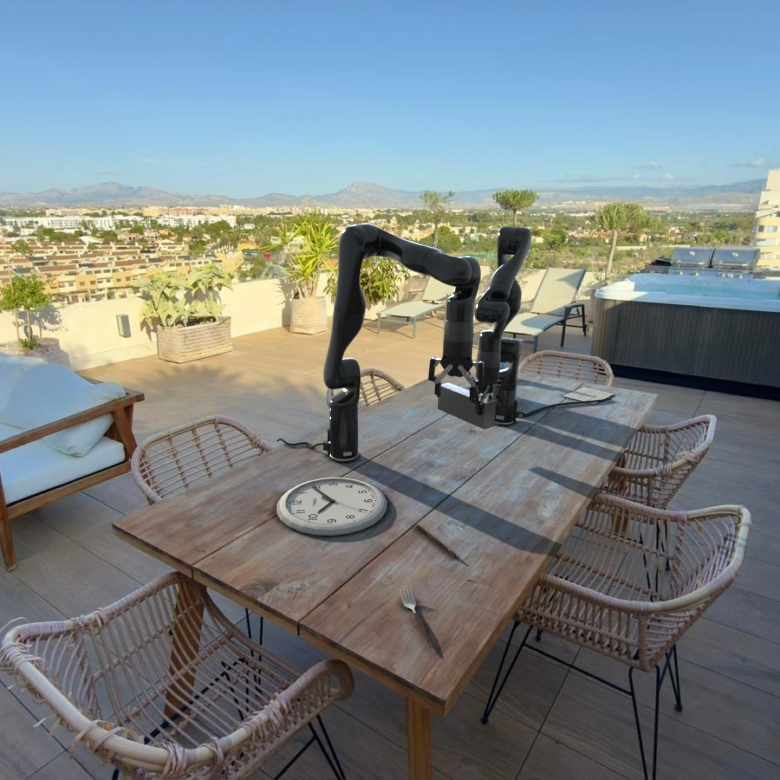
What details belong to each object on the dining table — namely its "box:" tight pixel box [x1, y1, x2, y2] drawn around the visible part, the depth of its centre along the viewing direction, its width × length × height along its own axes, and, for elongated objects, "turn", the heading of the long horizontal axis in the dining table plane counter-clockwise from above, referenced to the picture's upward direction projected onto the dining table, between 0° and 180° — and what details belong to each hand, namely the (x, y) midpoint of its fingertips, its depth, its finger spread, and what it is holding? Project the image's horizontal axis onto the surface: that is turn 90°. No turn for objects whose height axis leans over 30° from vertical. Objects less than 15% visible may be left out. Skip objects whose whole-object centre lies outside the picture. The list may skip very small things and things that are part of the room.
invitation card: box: [562, 386, 615, 405], centre depth 241 cm, size 21×1×15 cm
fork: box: [399, 584, 432, 649], centre depth 101 cm, size 3×16×2 cm, turn 16°
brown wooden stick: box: [415, 524, 457, 559], centre depth 127 cm, size 15×1×1 cm, turn 34°
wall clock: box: [276, 476, 388, 537], centre depth 142 cm, size 30×2×30 cm
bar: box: [437, 382, 496, 430], centre depth 179 cm, size 23×5×9 cm, turn 37°
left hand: (454, 398), depth 138 cm, fingers open, 8 cm apart
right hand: (484, 412), depth 172 cm, fingers closed on bar, 4 cm apart
